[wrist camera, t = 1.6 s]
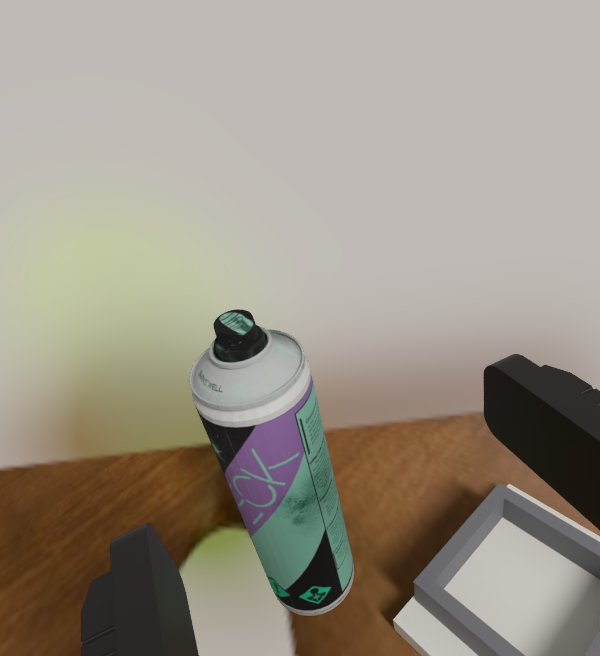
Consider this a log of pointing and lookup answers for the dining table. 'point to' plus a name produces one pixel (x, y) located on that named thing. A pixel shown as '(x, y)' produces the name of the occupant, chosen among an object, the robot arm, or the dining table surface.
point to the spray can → (275, 459)
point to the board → (508, 585)
